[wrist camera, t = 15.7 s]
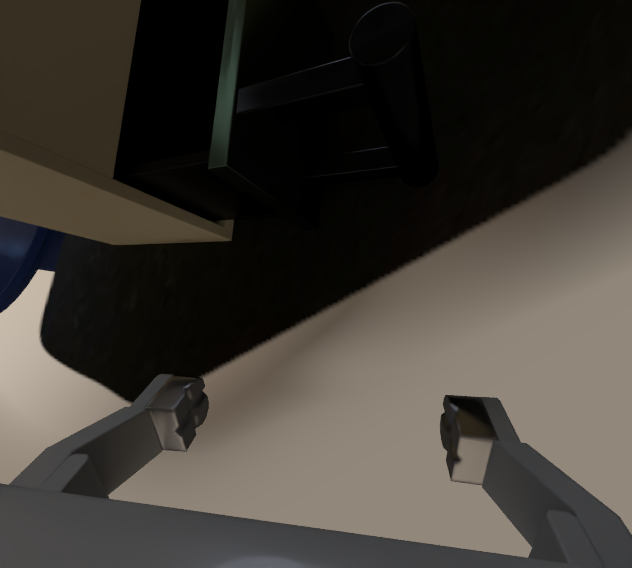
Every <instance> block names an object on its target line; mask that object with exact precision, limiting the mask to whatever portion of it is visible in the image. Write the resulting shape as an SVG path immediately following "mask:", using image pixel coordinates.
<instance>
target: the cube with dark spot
mask: <svg viewBox="0 0 632 568" xmlns="http://www.w3.org/2000/svg"><path fill="white" fill-rule="evenodd" d="M140 5H141V0H0V216H1V217H5V218H9V219H13V220H17V221H21V222H25V223H29V224H33V225H37V226H41V227H45V228H49V229H53V230H57V231H61V232H65V233H69V234H73V235H77V236H81V237H85V238H89V239H93V240H97V241H101V242H105V243H109V244H113V245H133V244H160V243H186V242H213V241H232V233H233V224H234V220H223V221H208V220H206V219H204V218H201V217H199V216H197V215H195V214H192V213H190V212H188V211H185V210H183V209H181V208H179V207H176V206H174V205H172V204H169V203H167V202H165V201H163V200H160V199H158V198H156V197H153V196H151V195H149V194H146V193H144V192H142V191H140V190H137V189H135V188H133V187H130V186H128V185H126V184H124V183H121V182H119V181H117V180H114V179H112V178H113V175H114V168H115V162H116V156H117V150H118V143H119V137H120V131H121V124H122V118H123V112H124V105H125V99H126V93H127V87H128V80H129V74H130V68H131V61H132V55H133V49H134V43H135V36H136V30H137V24H138V17H139V11H140Z"/></svg>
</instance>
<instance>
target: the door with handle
mask: <svg viewBox="0 0 632 568" xmlns="http://www.w3.org/2000/svg"><path fill="white" fill-rule="evenodd" d="M333 47H334V37H333V34H332V32H331V30H330V28H329V25H328V23H327V21H326V19H325V17H324V14H323V12H322V10H321V8H320V5H319V3H318V1H317V0H141V5H140V11H139V17H138V24H137V30H136V36H135V43H134V49H133V55H132V61H131V68H130V74H129V80H128V87H127V93H126V99H125V105H124V112H123V118H122V124H121V131H120V137H119V143H118V150H117V156H116V162H115V168H114V175H113V178H112V179H114V180H117V181H119V182H121V183H124V184H126V185H128V186H130V187H133V188H135V189H137V190H140V191H142V192H144V193H146V194H149V195H151V196H153V197H156V198H158V199H160V200H163V201H165V202H167V203H169V204H172V205H174V206H176V207H179V208H181V209H183V210H185V211H188V212H190V213H192V214H195V215H197V216H199V217H201V218H204V219H206V220H208V221H223V220H236V219H250V218H264V217H278V216H283V217H285V218H286V219H288V220H290V221H291V222H293V223H294V224H296V225H297V226H299V227H301V228H302V229H304V230H318V228H319V216H320V204H321V192H322V185H328V184H337V183H346V182H355V181H363V180H372V179H381V178H390V177H399V176H401V178H402V180H403V182H404V183H405V184H407V185H408V186H411V187H422V186H425V185H427V184H429V183H430V182H431V181H433V179H434V178H435V177H436V175H437V173H438V170H439V164H438V158H437V152H436V145H435V139H434V133H433V127H432V120H431V114H430V108H429V102H428V96H427V89H426V83H425V77H424V71H423V65H422V58H421V52H420V46H419V40H418V34H417V27H416V21H415V16H414V14H413V12H412V10H411V9H410V8H409V7H408V6H406V5H405V4H402V3H399V2H388V3H384V4H381V5H379V6H376V7H375V8H373V9H371V10H370V11H368V12H367V13H366V14H365V15H364V16H363V17H362V18H361V19H360V20H359V21H358V22H357V24H356V25H355V27H354V29H353V31H352V33H351V36H350V39H349V53H350V56H351V57H348V58H345V59H341V60H338V61H334V62H332V59H333ZM370 105H371V106H372V109H373V111H374V113H375V116H376V118H377V121H378V123H379V125H380V128H381V130H382V133H383V135H384V137H385V140H386V142H387V145H388V147H381V148H375V149H368V150H362V151H355V152H349V153H342V154H336V155H329V156H325V144H326V132H327V120H328V114H332V113H337V112H342V111H347V110H351V109H356V108H361V107H365V106H370Z"/></svg>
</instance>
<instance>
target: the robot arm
mask: <svg viewBox="0 0 632 568" xmlns="http://www.w3.org/2000/svg"><path fill="white" fill-rule="evenodd" d="M204 387H205V384H204V381H203V379H202V378H200V377H192V376H182V375H169V374H160V375H158V376H157V377H156V378H155V379H154V380H153V381H152V382H151V383H150V384H149V386H148V387H147V388H146V389H145V390H144V391H143V392H142V393H141V395H140V396H139V397H138V398H137V399H136V400H135V401H134V403H133V404H132V405H131V406H130V407H124V408H122V409H120V410H118V411H117V412H115V413H113V414H111V415H109V416H107V417H105V418H103V419H102V420H99V421H97V422H96V423H94V424H92V425H90V426H88V427H86V428H84V429H82V430H80V431H78V432H77V433H75V434H73V435H71V436H69V437H67V438H65V439H63V440H61V441H60V442H58V443H56V444H54V445H52V446H50V447H48V448H46V449H45V450H44V451H43V452H42V453H41V454H40V455H39V456H38V457H37V458H36V459H35V460H34V461H33V462H32V463H31V464H30V465H29V466H28V467H27V468H26V469H25V470H24V471H23V472H21V474H20V475H18V476H17V477H16V478H15V479H14V480H13V481H12V482H11V483H10V484H9V485H6V484H0V568H632V535H631V533H630V532H629V530H628V529H627V527H626V526H625V525H624V523H623V521H622V520H621V518H620V517H619V516H618V515H617V514H616V513H614V512H613V511H612V510H611V509H609V508H608V507H607V506H605V505H604V504H603V503H602V502H600V501H599V500H598V499H597V498H595V497H594V496H593V495H591V494H590V493H589V492H588V491H586V490H585V489H584V488H583V487H581V486H580V485H579V484H577V483H576V482H575V481H574V480H572V479H571V478H570V477H569V476H567V475H566V474H565V473H564V472H562V471H561V470H560V469H559V468H557V467H556V466H554V465H553V464H552V463H551V462H550V461H548V460H547V459H546V458H544V457H543V456H542V455H541V454H539V453H538V452H537V451H536V450H534V449H533V448H532V447H530V446H529V445H528V444H527V443H521V442H520V440H519V438H518V436H517V434H516V432H515V430H514V428H513V426H512V424H511V422H510V420H509V418H508V416H507V414H506V412H505V410H504V408H503V406H502V404H501V402H500V400H499V399H498V398H489V397H468V396H454V395H445V397H444V401H443V406H444V410H445V413H443V414H442V415H441V421H440V434H441V440H442V444H443V447H444V448H445V449H446V450H447V457H446V462H447V466H448V470H449V474H450V478H451V481H454V482H462V483H470V484H476V485H482V487H483V489H484V490H485V491H486V492H487V493H488V494H489V496H490V497H491V498H492V499H493V501H494V502H495V503H496V504H497V505H498V507H499V508H500V509H501V510H502V511H503V513H504V514H505V515H506V516H507V518H508V519H509V520H510V521H511V522H512V524H513V525H514V526H515V527H516V528H517V530H518V531H519V532H520V533H521V534H522V536H523V537H524V538H525V539H526V540H527V542H528V543H529V544H530V545H531V546H532V550H531V552H530V555H529V557H528V558H525V557H517V556H510V555H503V554H497V553H489V552H482V551H475V550H467V549H461V548H454V547H447V546H440V545H433V544H425V543H418V542H411V541H404V540H396V539H390V538H383V537H376V536H368V535H361V534H354V533H347V532H340V531H332V530H325V529H319V528H311V527H304V526H297V525H290V524H283V523H275V522H268V521H261V520H254V519H247V518H239V517H232V516H225V515H218V514H211V513H205V512H198V511H191V510H184V509H177V508H170V507H162V506H155V505H149V504H141V503H134V502H127V501H120V500H113V499H109V497H108V495H109V494H110V493H111V492H112V491H114V490H115V489H116V488H117V487H119V486H120V485H121V484H122V483H123V482H125V481H126V480H127V479H128V478H130V477H131V476H132V475H133V474H135V473H136V472H137V471H138V470H140V469H141V468H142V467H143V466H144V465H146V464H147V463H148V462H149V461H150V460H152V459H153V458H154V457H156V456H157V455H158V454H159V453H161V452H162V450H173V451H184V452H186V451H187V449H188V448H189V446H190V444H191V443H192V441H193V439H194V437H195V436H196V431H195V428H197V427H198V426H200V425H201V424H203V422H204V420H205V418H206V416H207V412H208V408H209V401H208V397H207V395H206V394H205V393H204V392H203V391H202V390H203V389H204Z"/></svg>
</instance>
